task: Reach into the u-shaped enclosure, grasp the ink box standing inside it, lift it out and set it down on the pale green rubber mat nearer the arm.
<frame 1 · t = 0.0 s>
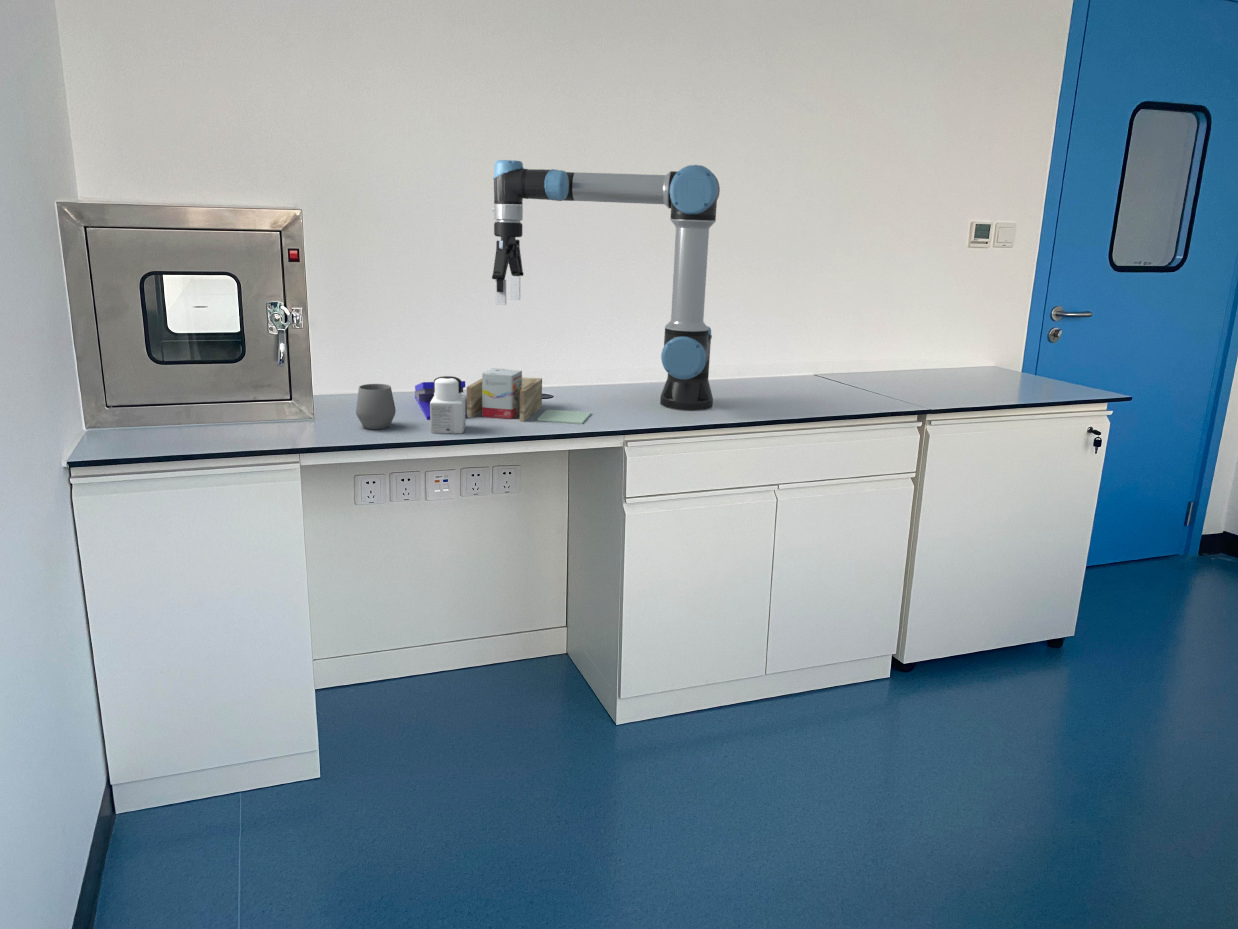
hand: (508, 302, 239), 28 cm above the table, fingers open, 13 cm apart
container: (448, 430, 216), on the table
u-shaped enclosure: (502, 414, 233), on the table
ink box: (502, 415, 233), on the table
cup: (376, 427, 216), on the table
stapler: (439, 409, 239), on the table
mat: (564, 417, 232), on the table
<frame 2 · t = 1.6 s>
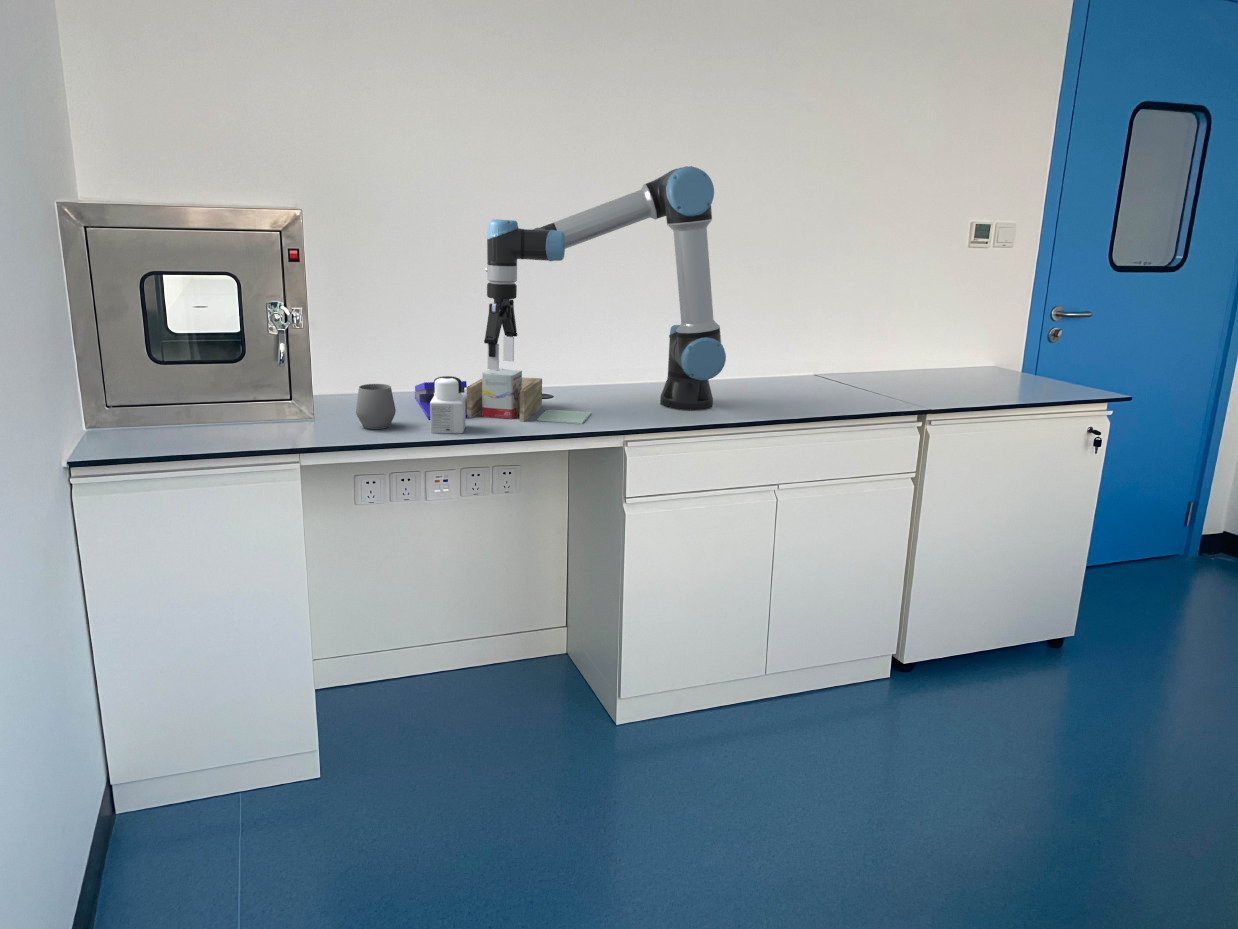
hand: (500, 365, 229), 13 cm above the table, fingers open, 13 cm apart
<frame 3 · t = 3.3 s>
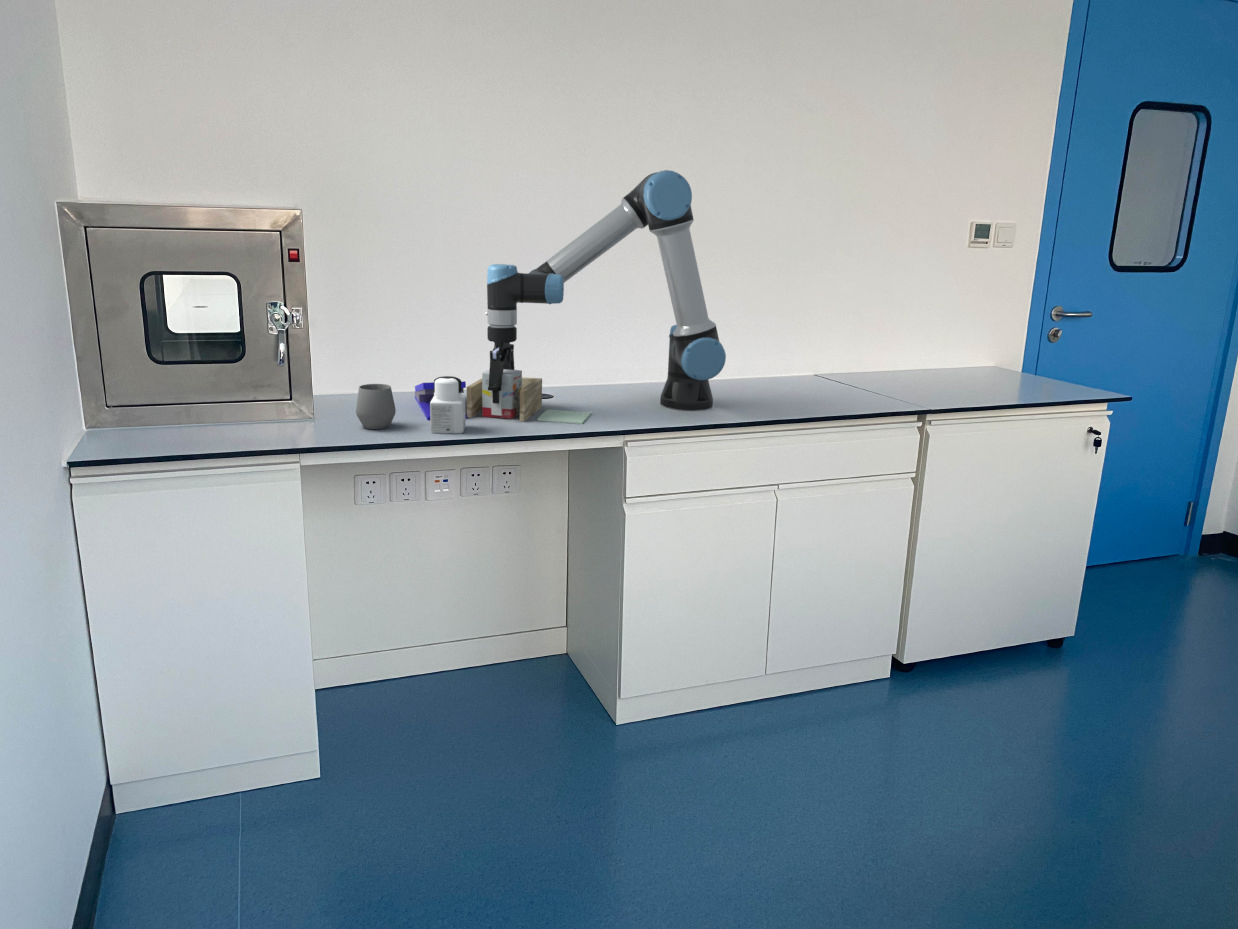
hand: (502, 411, 233), 1 cm above the table, fingers closed on ink box, 9 cm apart
ink box: (502, 415, 233), on the table, touching gripper
everything else where it was.
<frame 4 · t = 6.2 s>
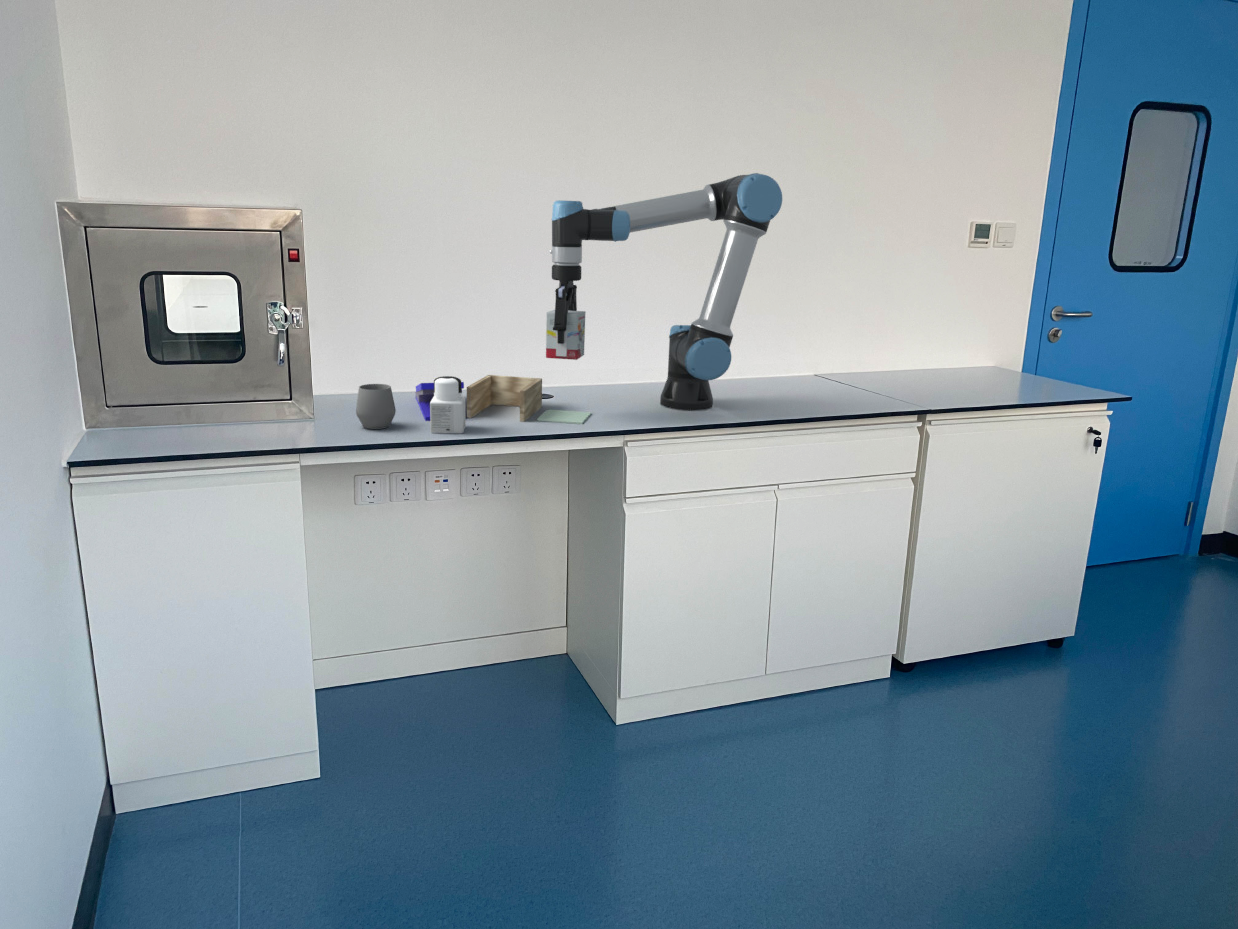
hand: (565, 353, 228), 17 cm above the table, fingers closed on ink box, 9 cm apart
ink box: (565, 357, 228), point 16 cm above the table, touching gripper
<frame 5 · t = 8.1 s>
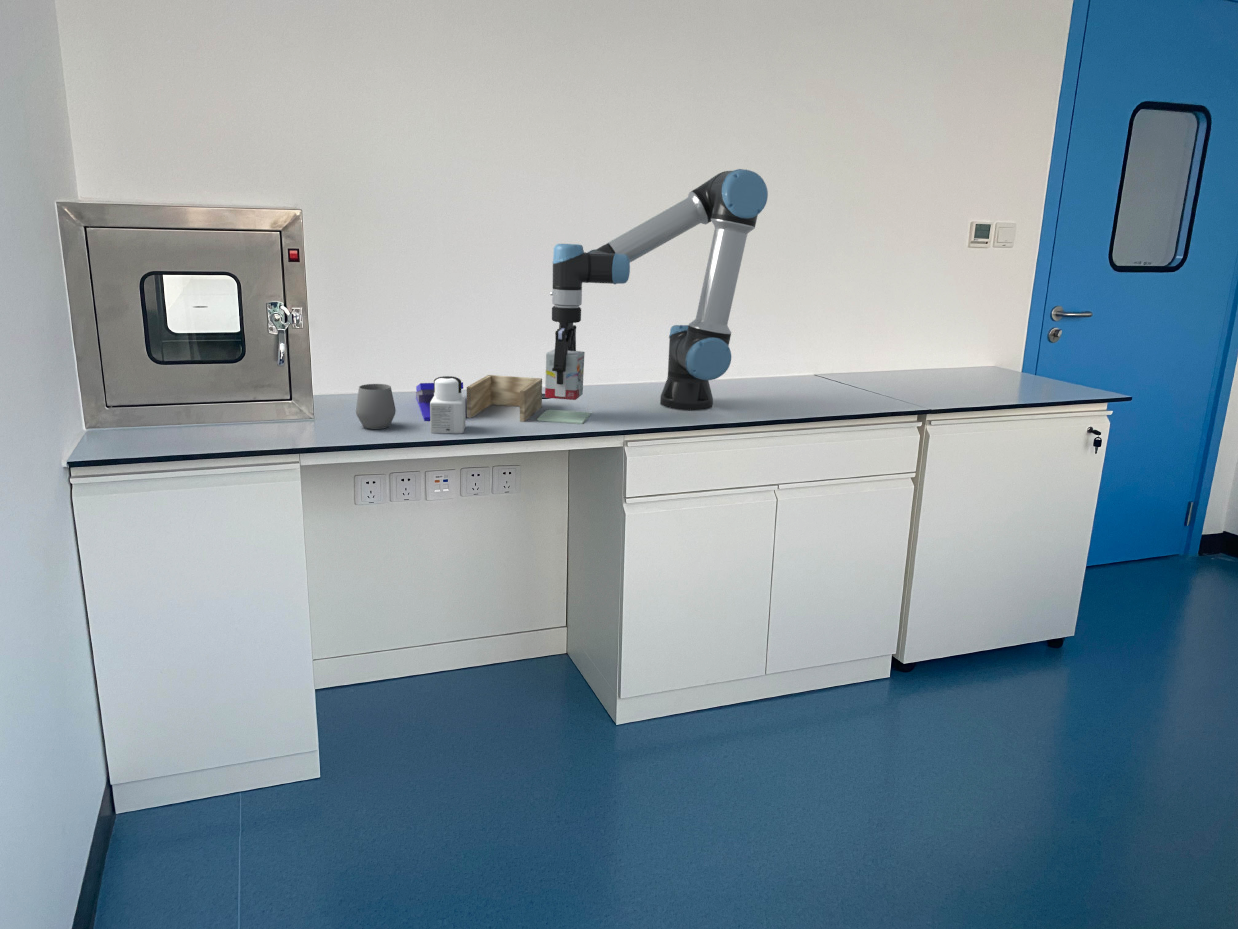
hand: (564, 392, 231), 7 cm above the table, fingers closed on ink box, 9 cm apart
ink box: (564, 396, 231), point 6 cm above the table, touching gripper
when the fingers open (3 cm above the table, at t = 9.4 s): ink box drops 2 cm, resting on mat.
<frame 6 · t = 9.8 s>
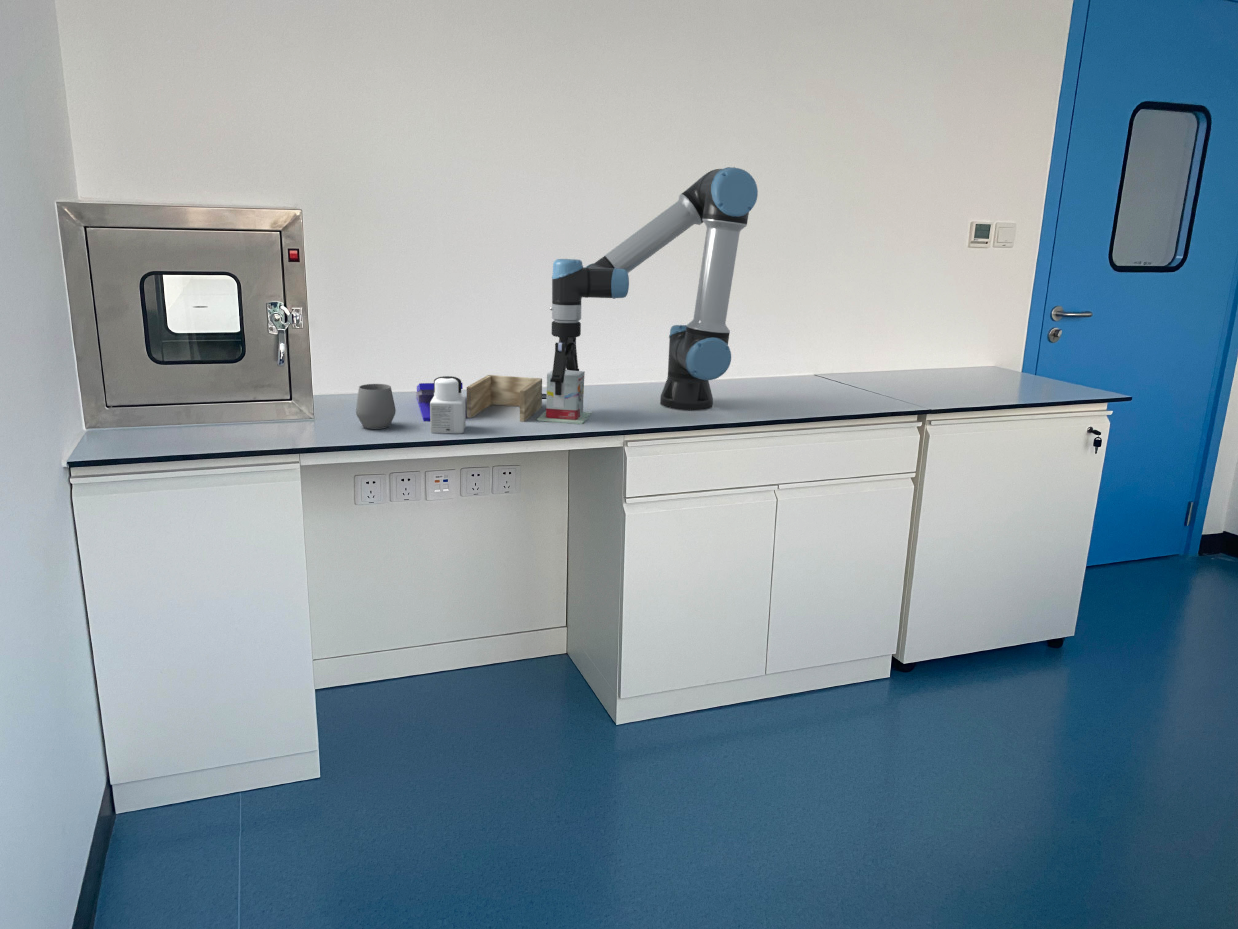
hand: (564, 401, 231), 4 cm above the table, fingers open, 13 cm apart
ink box: (564, 416, 233), resting on mat
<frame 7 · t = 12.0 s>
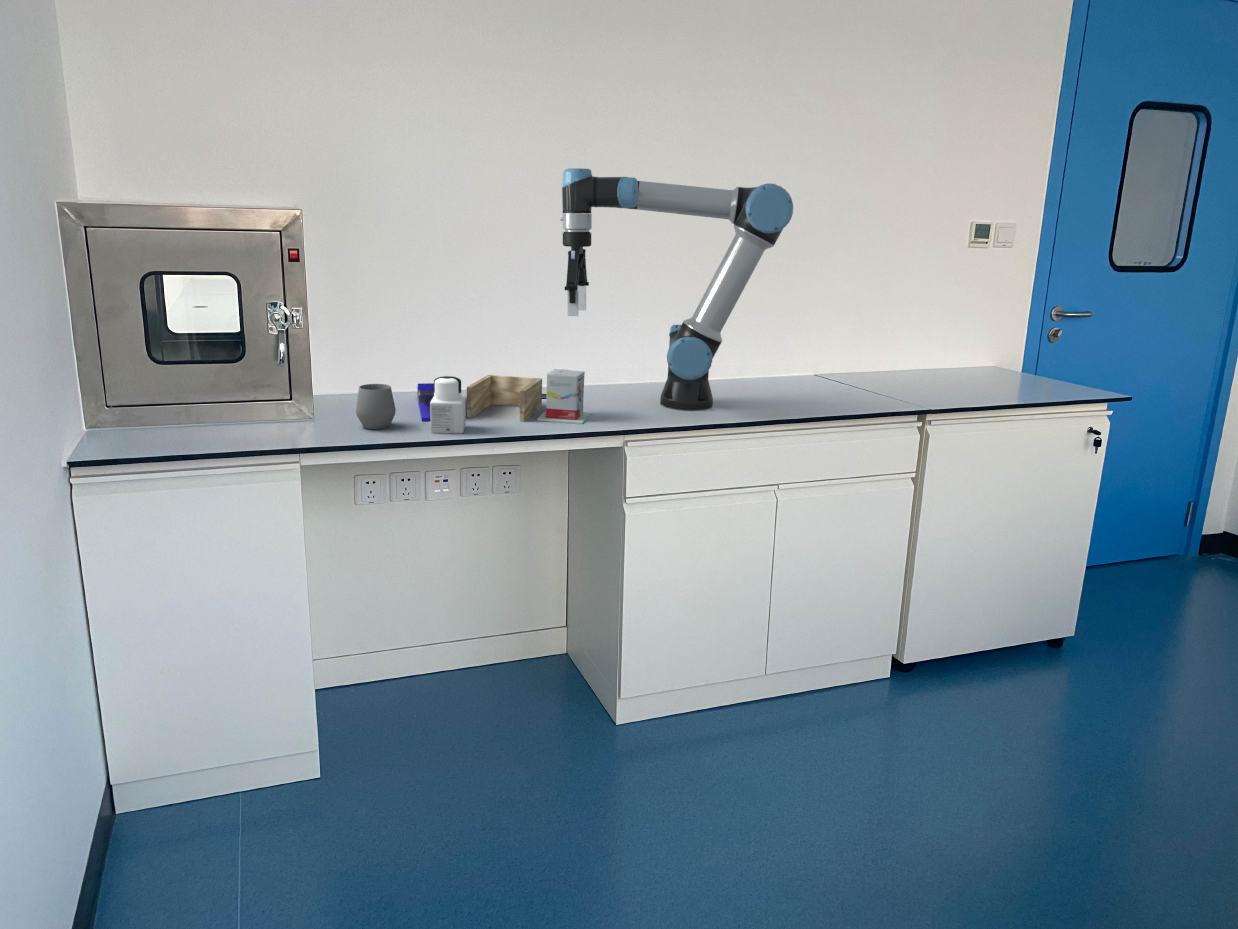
hand: (577, 313, 234), 26 cm above the table, fingers open, 13 cm apart
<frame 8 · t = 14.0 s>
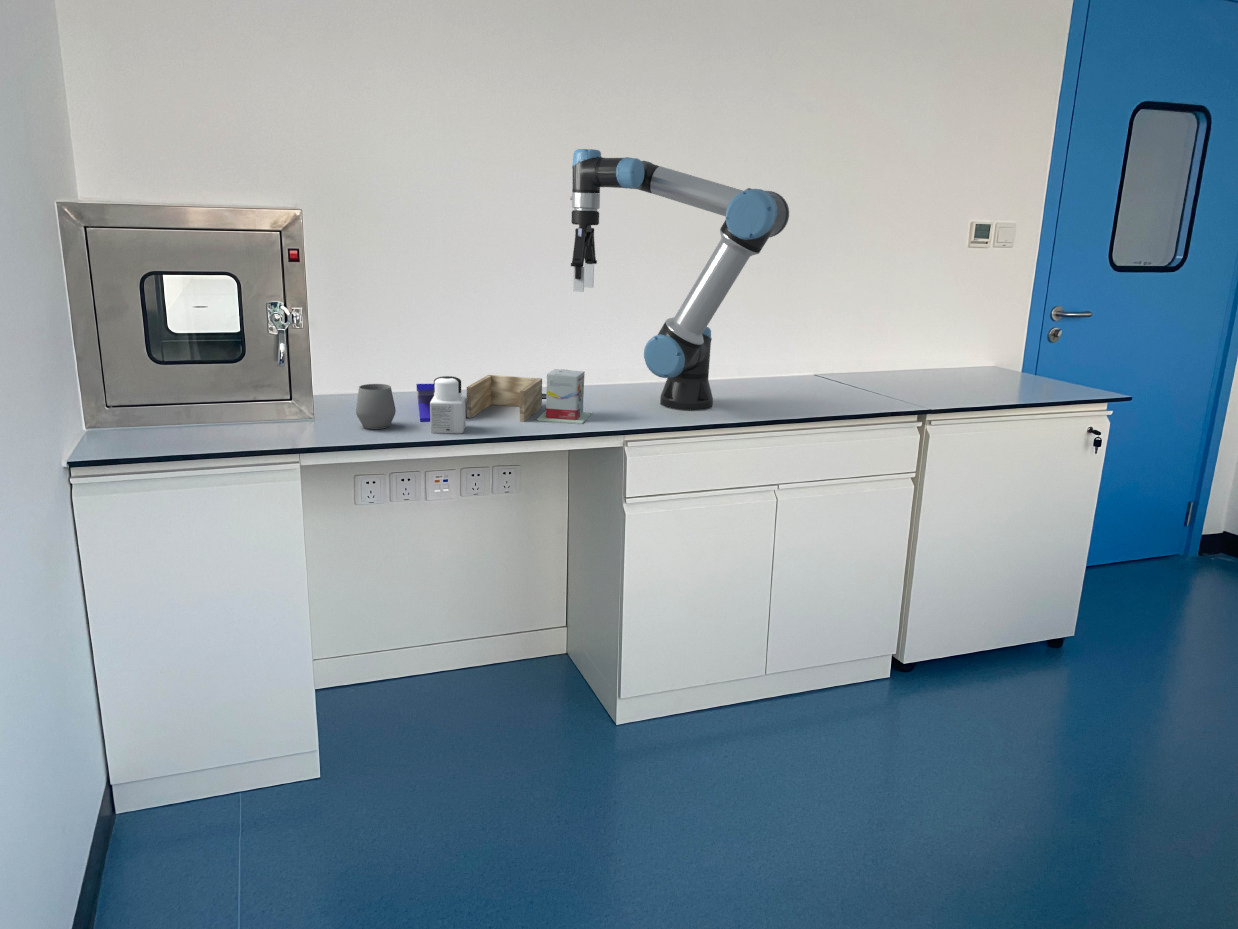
hand: (583, 289, 243), 32 cm above the table, fingers open, 13 cm apart
at the end: ink box inside the target area on the mat (0.2 cm from its centre), point 0.2 cm above the mat's base; ink box tilted 0°; ink box touching mat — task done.
